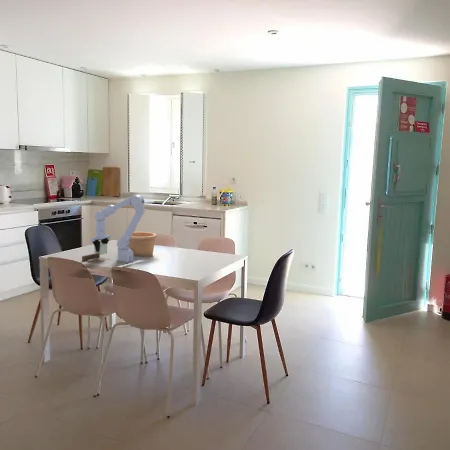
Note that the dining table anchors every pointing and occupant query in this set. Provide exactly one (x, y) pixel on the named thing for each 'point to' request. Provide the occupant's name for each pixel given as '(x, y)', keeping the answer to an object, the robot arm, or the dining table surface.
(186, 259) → the dining table surface
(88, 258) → the cleat board
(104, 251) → the sage block
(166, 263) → the dining table surface
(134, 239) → the pottery
